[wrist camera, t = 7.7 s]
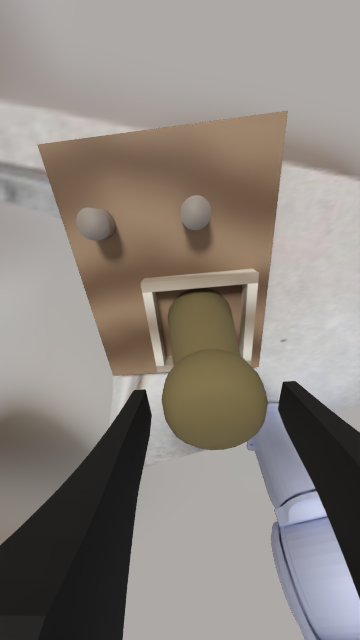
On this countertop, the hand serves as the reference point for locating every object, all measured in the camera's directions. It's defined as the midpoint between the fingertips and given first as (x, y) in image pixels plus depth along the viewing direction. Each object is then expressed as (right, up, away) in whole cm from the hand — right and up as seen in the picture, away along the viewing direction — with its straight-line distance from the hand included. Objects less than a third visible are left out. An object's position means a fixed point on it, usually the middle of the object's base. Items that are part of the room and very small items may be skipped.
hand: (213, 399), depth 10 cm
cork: (0, +4, +8) cm, 9 cm away
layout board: (-2, +8, +7) cm, 11 cm away
